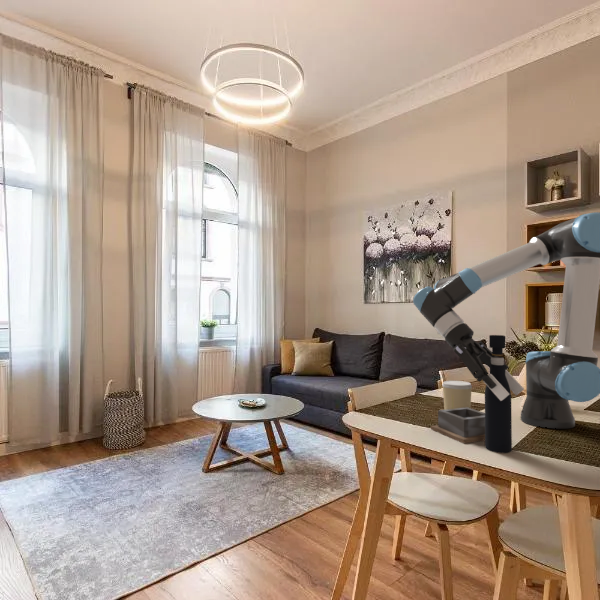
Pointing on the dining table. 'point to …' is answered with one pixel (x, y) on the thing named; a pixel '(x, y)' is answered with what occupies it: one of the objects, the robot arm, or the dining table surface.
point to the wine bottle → (498, 403)
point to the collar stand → (461, 424)
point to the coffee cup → (456, 394)
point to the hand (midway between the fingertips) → (512, 394)
